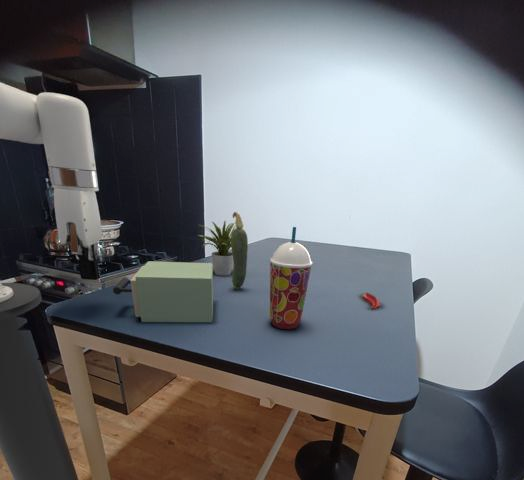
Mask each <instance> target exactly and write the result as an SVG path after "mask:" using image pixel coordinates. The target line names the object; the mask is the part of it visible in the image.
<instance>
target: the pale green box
mask: <svg viewBox="0 0 524 480" xmlns="http://www.w3.org/2000/svg"><path fill="white" fill-rule="evenodd" d="M143 266H144V267H143V268H142V269H141V271H140V272H139V273H138V274H137V275H136V277H135V278H136V285H137V293H138V300H139V308H140V315H141V317H140V321H141V322H140V323H213V319H214V265H213V262H187V261H186V262H181V261H151V260H150V261H149V260H148V261H147V262H146V263H145V264H144V265H143Z"/></svg>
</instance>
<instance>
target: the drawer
mask: <svg viewBox="0 0 524 480" xmlns="http://www.w3.org/2000/svg"><path fill="white" fill-rule="evenodd" d="M144 266H145V265H142V266H141V267H140V268H139V269H138V270H137V272H136V273H135V274H134V275H133V277H131V279H129V278H128V277H123V278H121V279H120V280H119V281H118V283H117V284H116V285H115V286H114V287H113V288H112V292H113V293H114V294H115V295H120V294H121V293H131V294H132V301H133V309H134V314H135V318H141V315H140V308H139V300H138V293H137V285H136V278H135V277H136V275H137V274H138V273H139V272H140V271H141V269H142V268H143V267H144ZM129 284H130V287H131V288H126V287H127V286H128V285H129Z"/></svg>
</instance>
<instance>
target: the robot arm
mask: <svg viewBox="0 0 524 480" xmlns="http://www.w3.org/2000/svg"><path fill="white" fill-rule="evenodd" d="M90 119H91V118H90V113H89V109H88V107H87V105H86V104H85V102H83V100H81V99H79V98H77V97H74V96H72V95H71V96H70V95H67V94H62V93H56V92H47V91H46V92H45V91H44V92H40V93H39V94H34V93H30V92H27V91H24V90H22V89H19V88H16V87H13V86H11V85H10V84H9V85H8V84H5V83H3V82H0V140H7V141H8V140H9V141H14V142H19V143H25V144H33V145H43V147H44V152H45V157H46V162H47V166H48V172H49V178H50V183H51V187H52V188H53V205H54V214H55V215H54V216H55V222H56V229H57V235H58V241H59V244H60V245H61V246H63V247H67V246H69V245H70V250H71V252H70V253H71V254H72V255H75V258H76V261H77V265H78V270H79V276H80V279H81V280H89V281H97V280H98V279H99V278H101V277H100V269H99V261H98V250H97V245H98V242H99V241H101V239H102V238H103V230H102V229H103V228H102V220H101V215H100V209H99V204H98V199H97V194H96V192H99V191H100V188H99V183H98V182H99V180H98V173H97V167H96V158H95V149H94V144H93V135H92V127H91V121H90ZM1 283H2V280H0V302H3V301H6V300H8V299H10V298H11V297H12V296H13V295H14V293H13V290H12V289H11V288H10V287H7V286H2V284H1Z"/></svg>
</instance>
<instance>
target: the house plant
mask: <svg viewBox="0 0 524 480" xmlns="http://www.w3.org/2000/svg"><path fill="white" fill-rule="evenodd" d="M211 223H212V224H213V227H214V229H215V231H214V230H212V229H211V228H209V227H207V226H205V225H201V224H199V226H200V227H204V228H202V229H204V230H205V229H207V231H208V232H209V233H210V234H211V235H212V236H211V237H210V236H208V235H203V234H197V236H198V237H201V238H204V241H206V242H205V243H203V244H202V247H204V246H206V245H211V247H212V248H214V250H215V251H213V252H211V260H212V263H213V272H214V274H215V275H216V276H221V277H222V276H223V277H225V276H230V275H231V274H232V271H233V265H234V260H233V255H232V251H229V250H230V249H232V248H231V234H232V232H233V230H234V229H236V227H235V226H236V222H232V223H229V224H228V225H227V226H226V223H227V221H226V220H224V221H223V226H222V230H221V227H219V226H218V225H217V224H216V223H215V222H214V221H211ZM207 240H208V241H207Z"/></svg>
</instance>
